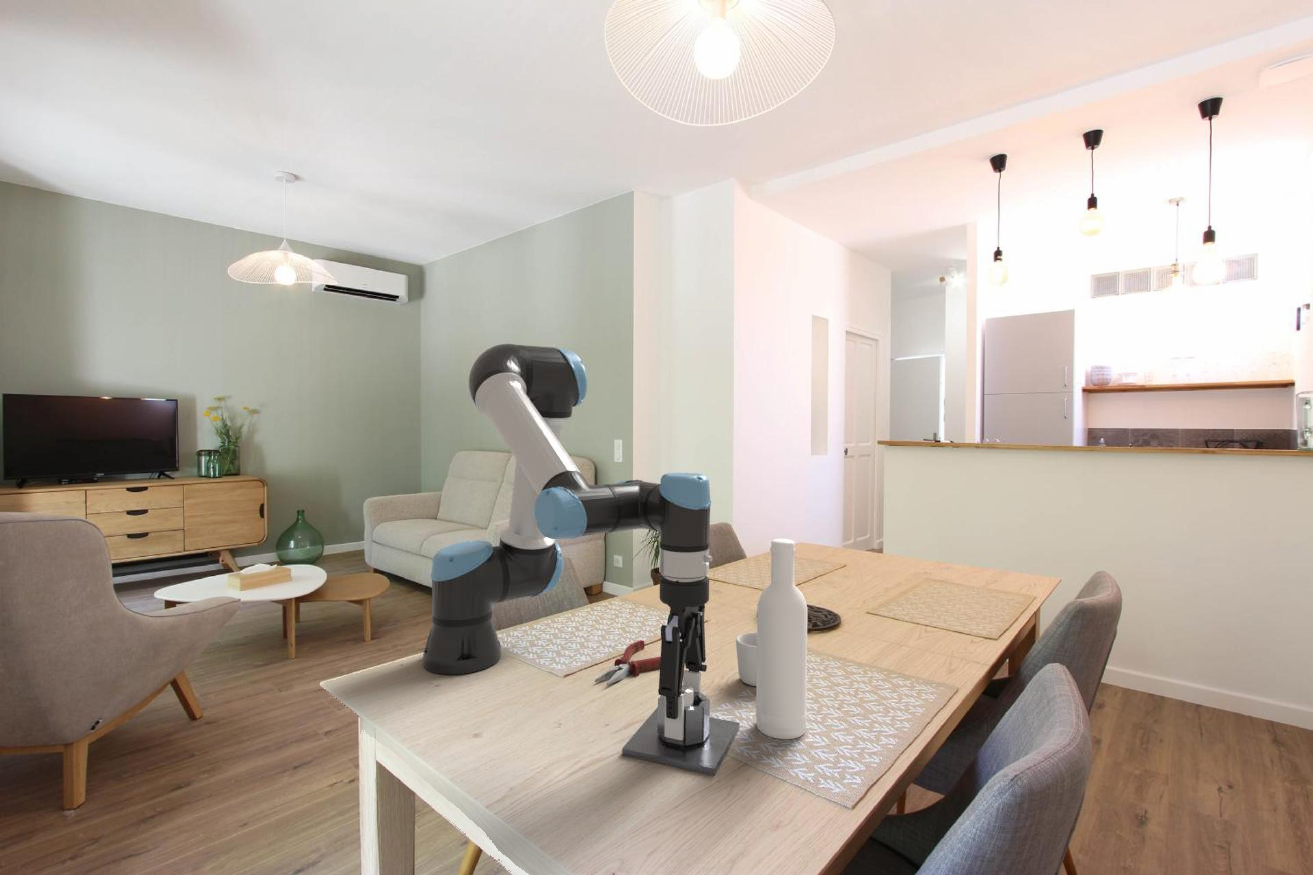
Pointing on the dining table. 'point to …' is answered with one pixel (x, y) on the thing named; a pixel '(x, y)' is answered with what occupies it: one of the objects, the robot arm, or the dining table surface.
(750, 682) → the cup
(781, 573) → the bottle
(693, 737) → the ring
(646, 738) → the piston jig
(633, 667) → the pliers
